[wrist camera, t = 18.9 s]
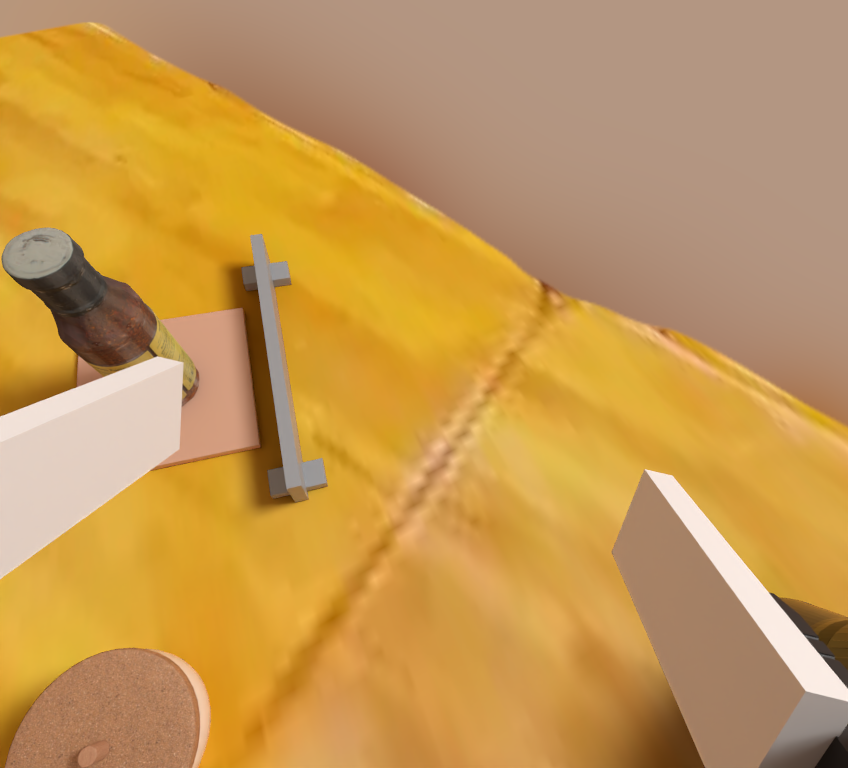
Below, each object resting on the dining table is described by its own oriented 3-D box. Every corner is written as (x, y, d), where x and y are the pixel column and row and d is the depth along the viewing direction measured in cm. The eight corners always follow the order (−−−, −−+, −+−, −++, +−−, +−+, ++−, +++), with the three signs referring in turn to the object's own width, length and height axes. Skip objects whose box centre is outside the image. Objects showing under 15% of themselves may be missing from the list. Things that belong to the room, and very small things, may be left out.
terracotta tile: (244, 312, 52) (242, 307, 52) (260, 447, 46) (259, 444, 45) (83, 336, 49) (79, 332, 48) (77, 485, 43) (71, 483, 42)
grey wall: (287, 262, 56) (280, 231, 51) (329, 494, 44) (324, 480, 40) (243, 269, 55) (231, 237, 50) (274, 507, 43) (262, 494, 39)
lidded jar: (62, 833, 32) (-47, 906, 24) (88, 654, 37) (5, 664, 29) (226, 801, 34) (177, 860, 26) (232, 633, 39) (192, 637, 30)
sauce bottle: (167, 348, 49) (48, 192, 31) (216, 377, 48) (122, 233, 30) (118, 397, 46) (-45, 256, 28) (168, 429, 45) (34, 305, 27)
